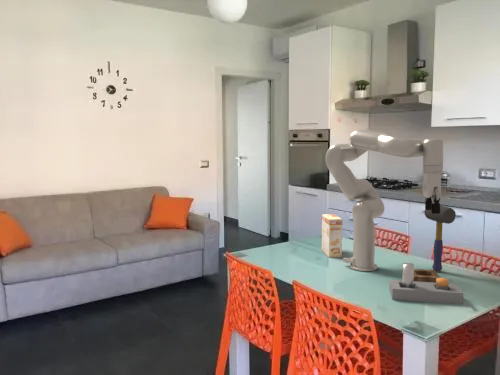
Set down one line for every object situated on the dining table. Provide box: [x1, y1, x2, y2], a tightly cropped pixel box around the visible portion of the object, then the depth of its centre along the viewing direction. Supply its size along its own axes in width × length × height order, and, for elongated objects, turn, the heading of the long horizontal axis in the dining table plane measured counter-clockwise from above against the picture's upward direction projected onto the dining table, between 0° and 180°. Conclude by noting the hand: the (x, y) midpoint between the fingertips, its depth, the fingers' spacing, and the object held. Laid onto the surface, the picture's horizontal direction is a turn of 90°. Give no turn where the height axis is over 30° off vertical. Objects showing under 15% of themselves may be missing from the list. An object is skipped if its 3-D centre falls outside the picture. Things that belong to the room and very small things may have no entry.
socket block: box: [388, 279, 464, 305], centre depth 160 cm, size 24×10×5 cm, turn 78°
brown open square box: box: [414, 268, 441, 283], centre depth 173 cm, size 10×10×6 cm
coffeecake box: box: [321, 213, 343, 258], centre depth 223 cm, size 15×7×20 cm, turn 5°
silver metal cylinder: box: [401, 262, 415, 288], centre depth 161 cm, size 4×4×12 cm
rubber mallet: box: [424, 204, 457, 273], centre depth 192 cm, size 12×8×30 cm, turn 19°
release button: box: [436, 277, 449, 290], centre depth 159 cm, size 4×4×5 cm
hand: (432, 211), depth 175 cm, fingers open, 9 cm apart
